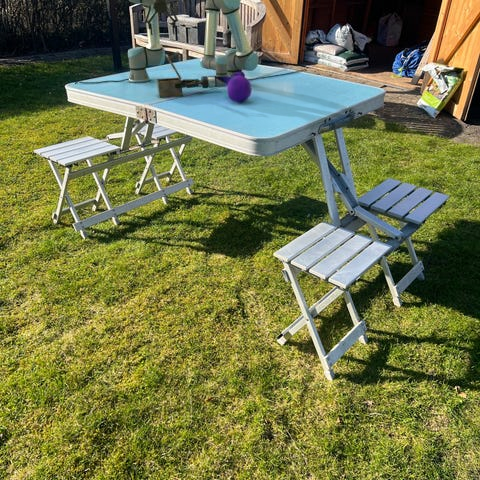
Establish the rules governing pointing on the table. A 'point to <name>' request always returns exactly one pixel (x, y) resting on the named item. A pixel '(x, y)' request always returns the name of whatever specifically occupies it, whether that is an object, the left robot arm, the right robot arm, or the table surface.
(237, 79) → the toy
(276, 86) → the table surface
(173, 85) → the chest
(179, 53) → the lid
